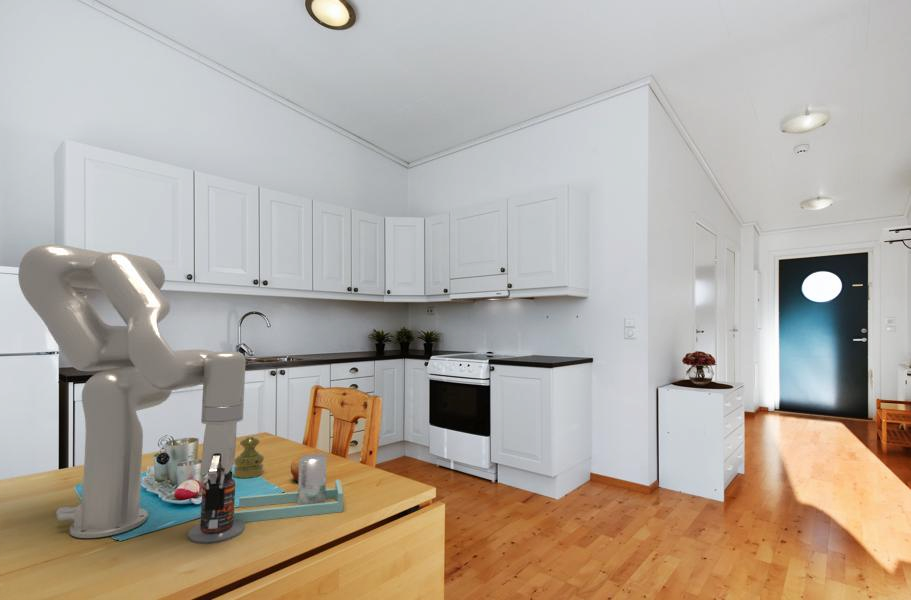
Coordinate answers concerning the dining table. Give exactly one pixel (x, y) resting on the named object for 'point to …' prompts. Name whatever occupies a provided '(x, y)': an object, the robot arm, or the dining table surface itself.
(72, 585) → the dining table surface
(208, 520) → the supplement bottle
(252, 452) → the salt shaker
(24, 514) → the dining table surface
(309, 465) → the can
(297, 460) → the fruit
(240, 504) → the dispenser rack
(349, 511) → the dining table surface
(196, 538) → the coaster
